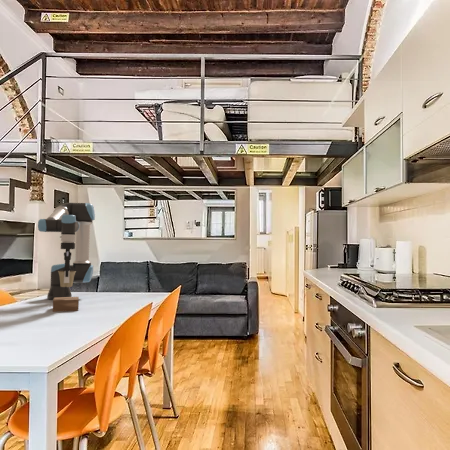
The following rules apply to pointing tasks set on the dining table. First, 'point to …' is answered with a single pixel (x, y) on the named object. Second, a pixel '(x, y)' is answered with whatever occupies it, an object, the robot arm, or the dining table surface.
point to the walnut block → (65, 304)
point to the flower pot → (71, 278)
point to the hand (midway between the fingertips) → (66, 282)
